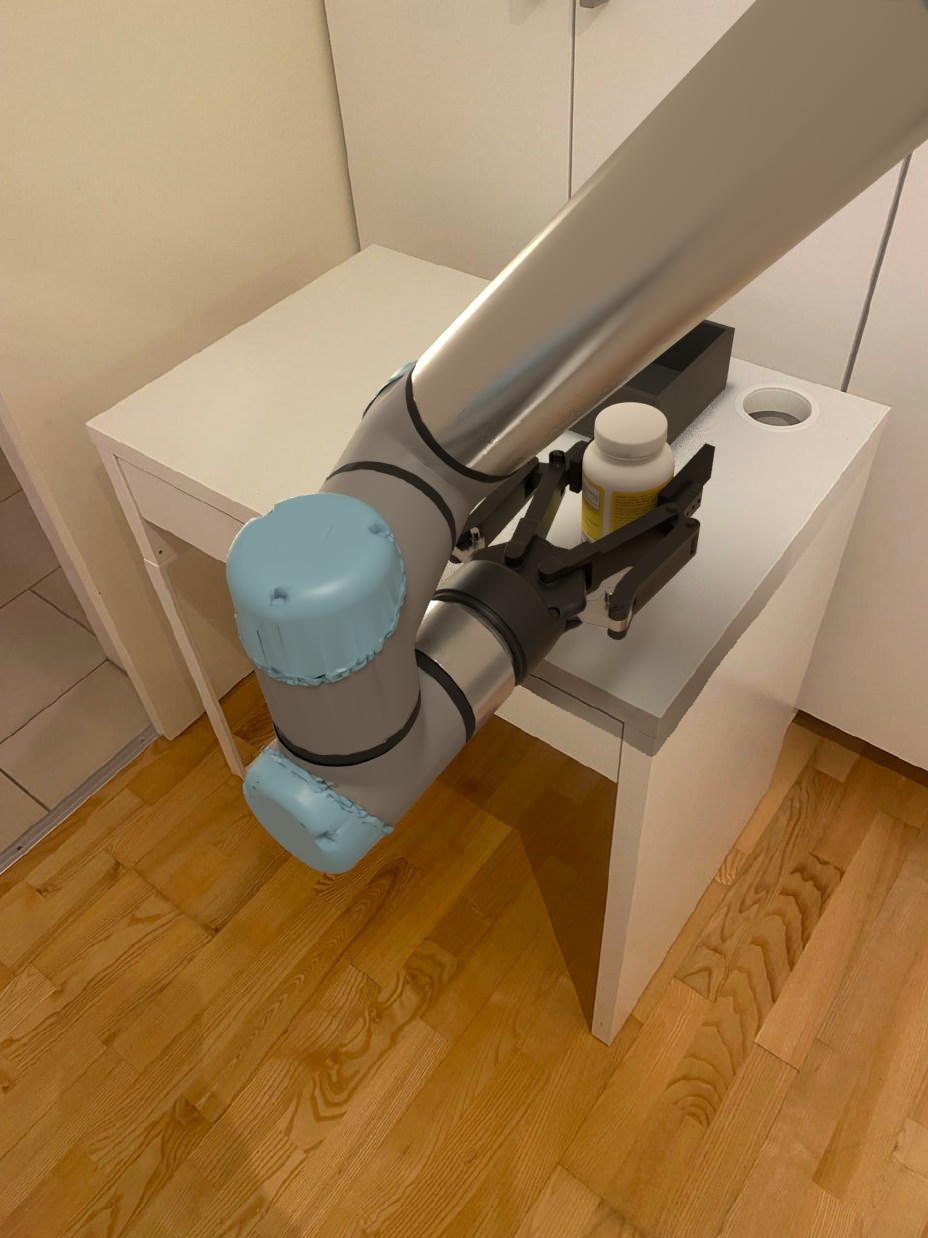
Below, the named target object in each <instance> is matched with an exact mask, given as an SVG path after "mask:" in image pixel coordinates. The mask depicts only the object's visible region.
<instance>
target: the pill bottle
mask: <svg viewBox="0 0 928 1238" xmlns="http://www.w3.org/2000/svg"><path fill="white" fill-rule="evenodd" d="M667 426H668V425H667V419H666V417H665V416H664V414H663V413H662V412H661V411H659V410H658V409H656V408H654V407H652V406H649V405H646V404H642V403H634V402H627V403H619V404H615V405H612V406H609V407H607V408H605V409H604V410H603V411H601V412H600V413H599V414H598V416H597V418H596V420H595V430H594V438H595V439H594V440H593V441H592V442H591V443H590V444H589V446H588V447H587V449H586V451H585V453H584V456H583V467H582V491H581V519H580V544H581V543H583V542H585V541H588V542H590V543H593V542H595V541H597V540H599V539H601V538H602V537H604V536H606V535H608V534H610V533H612V532H613V531H615V530H617V529H619V528H621V527H622V526H624V525H626V524H628V523H630V522H632V521H633V520H635V519H637V518H639V517H641V516H643V515H644V514H646V513H648V512H650V511H652V510H654V509H655V508H657V501H658V494H659V493H660V492H661V490H662V489H663V488H664V487H665V486H666V485H667V484H668V483H669V482H670V481H671V480H672V479H673V478H674V476H675V469H676V460H675V454H674V451H673V449H672V447H671V445H668V443H667V442H666V440H667ZM639 561H640V560H639ZM639 561H637V562H636V563H634V564H632V565H630V566H629V567H627V568H625V569H623V570H622V571H620V572H618V573H617V574H618V575H619V574H620V575H625V574H626V573H627V572H628V571H629V570H630V569H631V568H632V567H633V566H635V565H636V564H637V563H638V562H639Z"/></svg>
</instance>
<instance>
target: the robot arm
mask: <svg viewBox="0 0 928 1238" xmlns="http://www.w3.org/2000/svg"><path fill="white" fill-rule="evenodd" d="M926 141H928V0H755V1H754V2H752V4H751V5H750V6H749V7H748V8H747V9H746V10H745V11H744V12H743V14H742V15H741V16H740V17H739V18H738V19H737V20H736V21H735V22H734V23H733V24H732V25H731V27H730V28H729V29H728V30H727V31H726V32H725V33H723V35H722V36H721V37H720V38H719V39H718V40H717V41H716V42H715V43H714V44H713V46H712V47H711V48H709V50H708V51H707V52H706V53H705V54H704V55H703V56H702V57H701V58H700V59H699V60H698V62H696V64H695V65H694V66H693V67H692V68H691V69H690V70H689V71H688V72H687V73H686V74H685V75H684V77H683V78H682V79H681V80H680V81H678V83H677V84H676V85H675V86H674V87H673V88H672V89H671V90H670V91H669V92H668V93H667V95H665V97H663V98H662V100H661V101H660V102H659V103H658V104H657V105H656V106H655V107H654V108H653V109H652V110H651V111H650V113H649V114H648V115H647V116H646V117H645V118H644V119H643V120H642V121H641V122H640V123H639V125H637V126H636V128H635V129H634V130H633V131H632V132H631V133H630V134H629V135H628V136H627V137H626V138H625V139H624V140H623V141H622V142H621V144H620V145H618V147H617V148H616V149H615V150H614V151H613V152H612V153H611V154H610V155H609V157H607V158H606V160H605V161H603V162H602V164H601V165H600V166H599V167H598V168H597V169H596V170H595V171H594V172H593V173H592V174H591V176H590V177H588V179H587V180H586V181H585V182H584V183H583V184H582V185H580V187H579V188H578V190H577V191H576V192H575V193H574V194H573V195H572V196H571V197H569V199H568V200H567V201H566V202H565V203H564V204H563V205H562V206H561V208H560V209H559V210H557V212H555V214H554V215H553V216H552V217H551V218H550V219H549V220H548V221H547V223H545V224H544V226H543V227H542V228H541V229H540V230H539V231H537V233H536V234H535V235H534V236H533V238H531V239H530V241H529V242H527V244H526V245H525V246H523V248H522V249H521V250H520V251H519V252H518V253H517V254H516V255H515V256H514V258H512V260H511V261H509V262H508V264H507V265H506V266H505V267H504V268H503V269H502V270H501V272H499V274H497V276H496V277H494V279H493V280H492V281H491V282H490V283H489V284H488V285H487V286H486V287H485V289H483V290H482V291H481V293H480V294H478V296H477V297H476V298H475V299H474V300H473V301H472V302H471V303H470V305H468V307H467V308H466V309H465V310H464V311H463V312H462V313H461V314H460V315H459V316H458V317H457V318H456V320H455V321H453V322H452V324H451V325H450V326H449V327H448V328H446V330H444V332H443V333H442V334H441V335H440V336H439V338H437V340H436V341H435V342H434V343H433V344H432V345H431V346H430V347H429V348H428V349H427V350H426V351H425V352H424V353H423V355H422V356H421V357H420V358H419V359H418V360H414V361H412V362H409V363H407V364H404V365H403V366H401V367H400V368H398V369H397V370H395V372H394V373H393V374H392V375H391V376H390V377H389V378H388V380H387V381H386V382H385V383H384V384H383V385H382V386H381V387H380V389H379V390H377V392H376V394H375V395H374V396H373V398H372V399H371V400H370V402H368V403H367V405H366V407H365V409H364V411H363V412H362V417H361V420H360V423H359V424H358V426H357V428H356V429H355V431H354V433H353V435H352V436H351V438H350V439H349V441H348V443H347V444H346V447H345V448H344V450H343V452H342V453H341V454H340V456H339V458H338V460H337V462H336V464H335V465H334V466H333V469H332V470H331V472H330V474H329V475H328V476H327V477H326V478H325V480H324V481H323V483H322V485H321V486H320V487H319V489H318V491H317V492H310V493H303V494H297V495H294V496H290V497H287V498H284V499H281V500H279V501H277V502H275V503H273V504H271V506H270V509H269V511H268V512H267V513H265V514H264V515H262V516H258V517H252V518H250V519H249V520H248V521H247V522H246V523H244V525H243V526H242V527H241V528H240V530H239V531H238V533H237V534H236V535H235V536H234V539H233V541H232V542H231V544H230V547H229V550H228V553H227V555H226V562H225V577H226V578H225V579H226V584H227V587H228V591H229V593H230V598H231V601H232V604H233V605H232V606H233V608H234V612H235V614H234V616H233V617H234V620H235V623H236V626H237V636H238V639H239V641H240V644H241V645H242V647H243V650H244V651H245V653H246V654H247V657H248V658H249V660H250V663H251V665H252V668H253V670H254V673H255V676H256V678H257V682H258V684H259V687H260V690H261V692H262V695H263V697H264V700H265V703H266V706H267V709H268V712H269V714H270V717H271V719H272V729H273V731H274V735H275V737H276V738H275V739H276V740H275V742H273V743H271V745H267V746H266V747H265V748H264V749H262V751H261V753H260V755H259V756H258V757H257V759H256V760H255V762H254V763H253V764H252V765H251V766H250V768H248V770H247V771H246V773H245V776H244V777H245V778H244V780H243V783H242V793H243V796H244V799H245V801H246V804H247V805H248V808H249V809H250V810H251V812H252V814H253V815H254V816H255V818H256V819H257V821H258V822H259V823H260V825H261V826H262V827H263V828H264V830H265V831H266V832H267V833H269V835H270V836H271V837H272V838H273V839H274V840H275V841H276V842H277V843H278V844H279V845H281V847H283V848H284V850H286V851H287V852H289V853H290V854H291V855H292V856H293V857H295V858H296V859H298V860H299V861H301V862H302V863H303V864H305V865H306V866H308V867H310V868H311V869H314V870H316V871H318V872H321V873H324V874H330V875H340V874H343V873H346V872H348V871H350V870H352V869H353V868H354V867H355V866H356V865H357V864H358V863H359V862H360V861H361V860H362V859H363V858H364V857H365V856H366V855H367V854H368V853H370V851H371V850H372V849H373V848H374V847H375V846H376V845H377V844H378V843H379V842H380V841H381V840H382V839H383V838H384V837H385V836H390V835H391V834H392V833H393V832H394V831H395V826H396V825H397V824H398V823H400V821H401V820H402V818H403V817H404V816H405V815H406V814H407V813H408V812H409V810H411V808H412V807H413V806H414V805H415V803H417V801H418V800H419V799H420V798H421V796H422V795H423V794H424V793H425V792H426V791H427V790H428V789H429V788H430V786H431V785H432V784H433V783H434V782H435V781H436V780H437V778H438V777H439V776H440V775H441V774H442V773H443V771H444V770H445V769H446V768H447V767H448V766H449V764H450V763H451V762H452V761H453V760H454V758H456V757H457V755H458V754H459V753H460V752H461V751H462V749H463V747H465V746H466V745H467V744H468V742H469V741H470V740H471V739H472V738H473V737H474V736H475V735H476V734H477V733H478V732H479V731H480V730H481V729H482V727H483V726H484V725H485V724H486V723H488V721H489V720H490V719H491V717H492V716H493V715H494V714H495V713H496V712H497V711H498V710H499V708H501V706H502V705H503V704H504V703H505V702H506V701H507V700H508V698H509V697H510V696H511V695H512V693H513V692H514V690H515V688H516V687H518V686H520V685H521V684H522V683H524V681H525V680H526V679H527V678H528V677H529V675H531V674H532V672H533V671H534V670H535V669H536V668H537V667H538V666H539V664H540V663H542V661H543V660H544V659H545V658H546V657H547V656H548V655H549V653H550V652H551V651H552V650H553V648H554V647H555V645H556V644H557V642H558V641H559V640H560V638H561V637H562V636H563V635H564V634H565V633H568V632H569V631H572V630H574V629H577V628H578V627H580V626H581V625H583V623H586V624H590V625H594V626H598V627H601V628H602V627H604V628H606V634H607V636H608V637H609V639H610V640H614V641H622V640H623V639H625V638H626V637H627V635H628V632H629V631H630V627H631V625H632V622H633V620H634V617H635V615H636V614H638V613H639V611H641V610H642V609H643V608H644V607H645V606H646V605H647V604H648V603H649V602H650V600H652V599H653V598H654V597H655V596H656V595H657V594H658V593H659V592H660V591H661V590H662V589H663V588H664V587H665V586H666V584H668V583H669V582H670V581H671V580H672V579H673V578H674V577H675V576H676V575H677V574H678V573H679V572H680V571H681V570H682V569H683V568H684V567H685V566H686V565H687V564H689V562H690V561H691V560H692V559H693V558H694V557H695V556H696V555H697V551H698V545H699V537H700V530H701V521H700V520H699V519H697V518H695V517H693V515H694V514H695V513H696V512H697V511H698V510H699V509H700V507H701V505H702V499H703V493H704V486H705V485H706V484H707V483H708V482H709V481H710V480H711V478H712V473H713V468H714V467H713V466H714V459H715V454H716V453H715V452H716V446H715V445H712V444H709V443H706V442H705V443H704V444H703V445H702V446H701V447H700V449H698V451H697V452H696V453H695V454H694V455H693V456H692V457H691V458H690V459H689V460H688V461H687V462H686V463H685V465H684V466H682V467H681V469H680V470H679V471H678V472H677V473H676V474H674V478H673V479H672V480H671V481H670V482H669V483H668V484H667V485H666V486H665V487H664V488H663V489H662V490H661V492H660V493H659V494H658V501H657V508H655V509H654V510H652V511H650V512H648V513H646V514H644V515H643V516H641V517H639V518H637V519H635V520H633V521H632V522H630V523H628V524H626V525H624V526H622V527H621V528H619V529H617V530H615V531H613V532H612V533H610V534H608V535H606V536H604V537H602V538H601V539H599V540H597V541H595V542H593V543H590V542H588V541H585V542H583V543H581V542H580V543H578V544H577V545H575V546H573V547H571V548H566V547H562V546H556V545H554V544H553V543H551V542H550V541H549V540H548V539H547V537H548V534H549V532H550V530H551V528H552V525H553V523H554V521H555V518H556V516H557V514H558V511H559V509H560V507H561V504H562V502H563V499H564V497H565V495H566V491H567V490H566V489H567V487H568V491H570V492H573V493H575V494H577V495H579V494H580V493H582V467H583V456H584V453H585V451H586V449H587V447H588V446H589V444H590V443H591V442H592V441H593V440H594V439H595V438H594V437H593V438H590V439H589V440H588V441H587V440H583V439H581V440H578V441H577V442H575V443H574V444H573V445H572V446H571V447H569V449H567V450H566V451H564V450H561V449H554V450H551V451H550V452H549V453H548V462H543V461H540V459H539V457H538V456H537V455H539V454H540V453H541V452H542V451H544V450H545V449H546V448H547V447H548V446H550V445H551V444H552V443H554V442H555V441H556V440H557V439H559V438H560V437H561V436H562V435H563V434H565V433H566V432H567V431H568V430H569V428H571V427H572V426H573V425H574V424H576V423H577V422H578V421H579V420H581V419H582V418H583V417H584V416H586V415H587V414H588V413H589V412H590V411H592V410H593V409H594V408H595V407H597V406H598V405H599V404H600V403H602V402H603V401H604V400H605V399H607V398H608V397H609V396H610V395H612V394H613V393H614V392H615V391H617V390H618V389H619V388H620V387H621V386H623V385H624V384H625V383H626V382H628V381H629V380H630V379H631V378H633V377H634V376H635V375H636V374H638V373H639V372H640V371H641V370H643V369H644V368H645V367H646V366H648V365H649V364H650V363H651V362H652V361H654V360H655V359H656V358H657V357H659V356H660V355H661V354H662V353H664V352H665V351H666V350H667V349H669V348H670V347H671V346H672V345H674V344H675V343H676V342H677V341H678V340H680V339H681V338H682V337H683V336H685V335H686V334H687V333H688V332H690V331H691V330H692V329H693V328H695V327H696V326H697V325H698V324H700V323H701V322H702V321H703V320H705V319H706V320H707V318H709V317H710V316H711V315H712V314H714V313H715V312H716V311H717V310H718V309H720V308H721V307H722V306H723V305H724V304H726V303H728V301H730V299H732V298H733V297H734V296H736V295H737V294H738V293H739V292H741V291H742V290H743V289H745V287H746V286H748V285H749V284H751V283H752V282H753V281H754V280H756V279H757V278H759V276H760V275H762V274H763V273H764V272H765V271H766V270H768V269H769V268H770V267H771V266H773V265H774V264H775V263H776V262H778V261H779V260H780V259H782V258H783V257H784V256H785V255H786V254H788V253H789V252H790V251H791V250H793V249H794V248H795V247H797V246H798V245H799V244H800V243H801V242H802V241H804V240H805V239H806V238H808V237H809V236H810V235H811V234H812V233H814V232H815V231H816V230H818V229H819V228H821V226H822V225H823V224H825V223H826V222H827V221H828V220H830V219H831V218H832V217H834V216H835V215H836V214H837V213H839V212H840V211H841V210H842V209H844V208H845V207H847V205H848V204H849V203H851V202H852V201H854V199H856V198H857V197H859V195H861V194H862V193H863V192H865V191H866V190H867V189H869V188H870V187H871V186H872V185H873V184H874V183H876V182H877V181H878V180H880V178H882V177H883V176H884V175H886V174H887V173H888V172H889V171H891V170H892V169H894V167H896V166H897V165H898V164H900V163H901V162H902V161H903V160H904V159H905V158H906V157H908V156H909V155H911V154H912V153H913V152H914V151H915V150H917V149H918V148H919V147H920V146H922V145H924V143H925V142H926ZM528 502H530V503H529V505H528V507H527V510H526V511H525V514H524V516H523V517H520V519H519V520H518V523H517V525H516V527H515V529H514V532H513V533H512V536H511V538H510V540H508V541H505V542H501V543H496V544H494V545H493V544H492V543H493V542H494V541H495V539H496V538H497V537H498V536H500V534H501V533H502V532H503V531H504V530H505V528H506V527H508V525H509V524H510V523H511V522H512V521H513V519H515V518H516V517H517V515H518V514H519V513H520V512H521V510H522V509H523V508H525V506H526V505H527V504H528ZM491 544H492V545H491ZM639 560H640V561H639ZM637 561H639V562H638V563H637V564H636V565H635V566H633V567H632V568H631V569H630V570H629V571H628V572H627V573H626V574H623V576H622V577H621V578H620V579H619V581H618V582H617V583H616V585H615V587H614V588H613V587H607V588H606V589H605V591H604V593H602V594H601V596H600V597H599V598H597V599H595V600H588V599H587V598H588V597H587V596H589V595H591V594H593V593H594V592H596V591H597V590H598V589H599V588H600V587H601V584H602V583H603V582H604V581H606V580H608V579H609V578H611V577H613V576H614V575H617V574H618V572H620V571H622V570H623V569H625V568H627V567H629V566H630V565H632V564H634V563H636V562H637ZM449 562H450V563H451V564H454V565H460V564H461V565H460V566H459V567H458V568H457V569H456V570H455V571H454V572H453V573H452V574H451V575H450V576H449V577H448V578H446V579H445V581H444V582H442V583H441V584H440V582H441V580H442V577H443V574H444V572H445V571H446V568H447V565H448V563H449ZM438 585H439V586H438Z"/></svg>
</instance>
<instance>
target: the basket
mask: <svg viewBox="0 0 928 1238" xmlns="http://www.w3.org/2000/svg"><path fill="white" fill-rule="evenodd" d="M735 332H736V328H735V327H733V326H729V325H726V324H723V323H719V322H716V321H713V320H709V319H707V318H706V319H705V320H703V321H702V322H701V323H700V324H698V325H697V326H696V327H695V328H693V329H692V330H691V331H690V332H688V333H687V334H686V335H685V336H683V337H682V338H681V339H680V340H678V341H677V342H676V343H675V344H674V345H672V346H671V347H670V348H669V349H667V350H666V351H665V352H664V353H662V354H661V355H660V356H659V357H657V358H656V359H655V360H654V361H652V362H651V363H650V364H649V365H648V366H646V367H645V368H644V369H643V370H641V371H640V372H639V373H638V374H636V375H635V376H634V377H633V378H631V379H630V380H629V381H628V382H626V383H625V384H624V385H623V386H621V387H620V388H619V389H618V390H617V391H615V392H614V393H613V394H612V395H610V396H609V397H608V398H607V399H605V400H604V401H603V402H602V403H600V404H599V405H598V406H597V407H595V408H594V409H593V410H592V411H590V412H589V413H588V414H587V415H586V416H584V417H583V418H582V419H581V420H579V421H578V422H577V423H576V424H574V425H573V426H572V427H571V428H569V429H568V430H569V431H571V432H575V433H576V434H578V435H579V434H580V435H581V436H585V437H587V438H589V439H592V438H593V437H594V430H595V420H596V418H597V416H598V414H599V413H600V412H601V411H603V410H604V409H605V408H607V407H609V406H612V405H615V404H619V403H627V402H634V403H642V404H646V405H649V406H652V407H654V408H656V409H658V410H659V411H661V412H662V413H663V414H664V416H665V417H666V419H667V425H668V426H667V440H666V442H667V443H668V445H669V446H671V445H672V444H673V442H675V441H676V440H677V438H678V437H679V436H681V434H683V432H684V431H685V430H686V429H687V428H688V427H689V426H690V425H691V424H692V423H693V422H694V421H695V420H696V419H697V418H698V417H699V416H700V415H701V414H702V413H703V412H704V410H705V409H706V408H708V406H709V405H710V404H712V403H713V401H714V400H715V399H716V398H717V397H718V396H719V395H720V394H721V393H722V392H723V391H724V390H725V389H726V388H727V382H728V377H729V370H730V364H731V363H730V362H731V359H732V358H731V357H732V351H733V345H734V337H735Z"/></svg>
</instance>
